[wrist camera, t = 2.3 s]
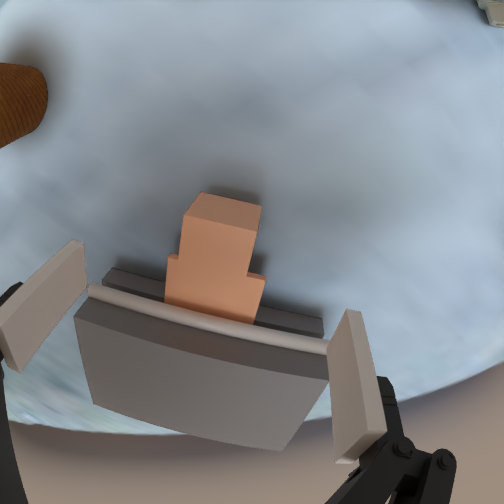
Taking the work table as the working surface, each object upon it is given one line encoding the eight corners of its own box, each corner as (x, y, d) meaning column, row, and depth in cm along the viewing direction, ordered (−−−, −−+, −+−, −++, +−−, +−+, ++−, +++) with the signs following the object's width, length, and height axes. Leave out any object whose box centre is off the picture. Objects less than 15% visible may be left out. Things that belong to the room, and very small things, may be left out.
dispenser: (283, 397, 33) (281, 451, 27) (117, 356, 32) (93, 403, 26) (326, 310, 27) (334, 371, 21) (111, 258, 26) (71, 306, 20)
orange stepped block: (234, 383, 29) (228, 416, 25) (162, 365, 29) (150, 397, 25) (284, 211, 20) (285, 238, 17) (178, 187, 20) (157, 209, 17)
